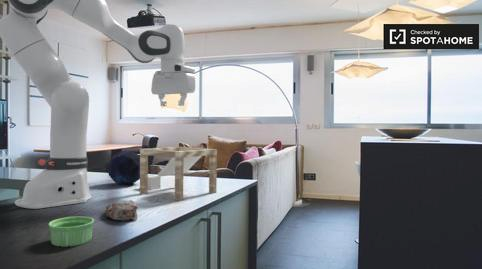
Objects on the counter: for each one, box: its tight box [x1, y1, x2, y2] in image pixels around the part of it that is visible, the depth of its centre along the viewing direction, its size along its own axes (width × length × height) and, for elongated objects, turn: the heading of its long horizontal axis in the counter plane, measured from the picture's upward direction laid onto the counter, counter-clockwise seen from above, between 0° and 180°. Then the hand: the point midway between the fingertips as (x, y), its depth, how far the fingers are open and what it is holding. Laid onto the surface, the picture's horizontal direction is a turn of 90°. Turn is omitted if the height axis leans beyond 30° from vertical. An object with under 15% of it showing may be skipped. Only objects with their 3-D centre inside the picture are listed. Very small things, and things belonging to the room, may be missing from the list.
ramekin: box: [48, 215, 95, 248], centre depth 79 cm, size 9×9×4 cm
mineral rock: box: [104, 199, 139, 222], centre depth 100 cm, size 15×8×4 cm, turn 24°
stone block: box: [148, 174, 162, 191], centre depth 144 cm, size 5×5×6 cm
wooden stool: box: [139, 146, 218, 202], centre depth 135 cm, size 20×20×16 cm
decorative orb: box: [107, 150, 140, 186], centre depth 153 cm, size 14×15×15 cm
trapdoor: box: [156, 150, 203, 177], centre depth 134 cm, size 14×14×1 cm
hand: (172, 105), depth 137 cm, fingers open, 8 cm apart
